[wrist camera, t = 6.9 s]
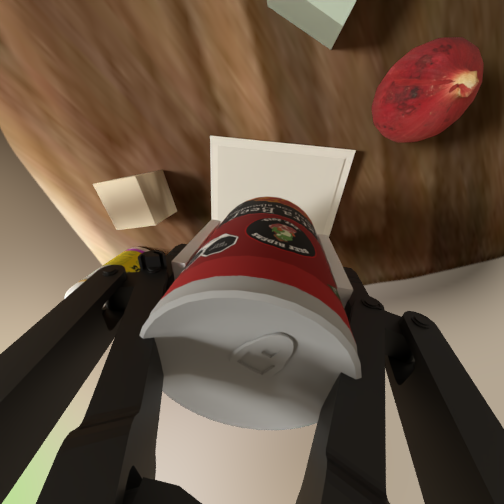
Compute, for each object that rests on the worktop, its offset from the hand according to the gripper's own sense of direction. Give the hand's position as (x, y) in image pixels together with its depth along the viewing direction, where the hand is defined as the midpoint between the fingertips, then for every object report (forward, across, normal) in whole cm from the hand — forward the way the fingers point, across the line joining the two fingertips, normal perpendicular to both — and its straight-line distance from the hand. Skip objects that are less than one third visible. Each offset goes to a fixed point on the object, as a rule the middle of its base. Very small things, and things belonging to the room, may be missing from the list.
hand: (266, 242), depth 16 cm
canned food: (0, 0, 0) cm, 0 cm away
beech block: (+9, -15, 0) cm, 17 cm away
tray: (+9, 0, 0) cm, 9 cm away
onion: (+9, +9, +11) cm, 17 cm away
